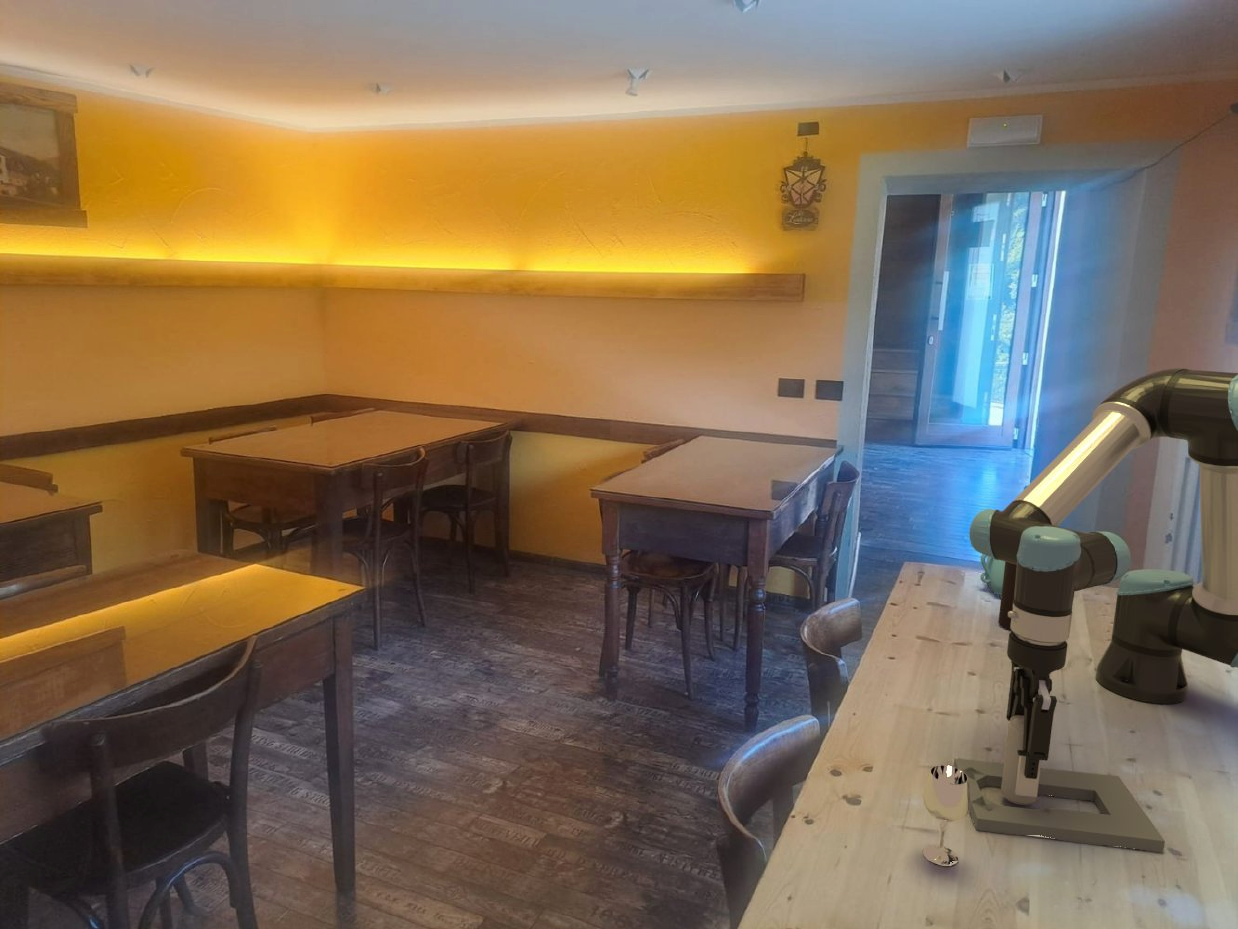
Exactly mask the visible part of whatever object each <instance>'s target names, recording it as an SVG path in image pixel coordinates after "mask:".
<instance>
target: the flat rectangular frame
mask: <svg viewBox="0 0 1238 929" xmlns="http://www.w3.org/2000/svg"><path fill="white" fill-rule="evenodd" d="M953 767H955V768H957V769H960V770H961V771H963V772H964V773H965V774H966V775H967V777H968V781H969V787H970V807H969V811H970V812H969V811H968V812H969V814H970V813H971V815H970V817H972V818H971V820H972V819H973V820H972V822H973V821H974V823H973V825H974V824H975V826H974V828H976V829H977V830H976V829H975V830H976V831H979V832H980V831H982V832H990V833H997V834H998V833H999V834H1004V835H1005V834H1007V835H1013V834H1015V836H1021V835H1040V836H1041V835H1042V836H1044V837H1045V836H1046V837H1049V838H1050V837H1051V838H1055V839H1060V840H1059V841H1062V840H1063V842H1073V843H1079V844H1086V845H1094V844H1095V845H1096V846H1102V845H1109V846H1108V847H1111V846H1119V847H1120V846H1121V847H1126V848H1125V849H1127V848H1135V849H1140V850H1139V851H1143V850H1146V851H1145V852H1151V851H1153V853H1159V852H1162V853H1161V854H1164V850H1165V842H1166V841H1165V839H1164V838H1163V836H1162V835H1161V833H1160V832H1159V831H1158V829H1157V828H1156V826H1155V825H1154V824H1153V822H1152V821H1151V819H1150V818H1149V816H1148V815H1147V814H1146V812H1145V811H1144V810H1143V808H1142V807H1141V806H1140V804H1139V802H1138V801H1137V800H1136V799H1135V797H1134V796H1133V794H1132V793H1131V792H1130V790H1129V789H1128V787H1127V785H1126V784H1125V783H1124V781H1123V780H1122V779H1121V778H1120V776H1119V775H1109V774H1099V773H1090V772H1084V771H1083V772H1082V771H1081V772H1080V771H1073V770H1064V769H1054V768H1053V769H1052V768H1047V767H1041V769H1040V777H1039V785H1038V793H1037V794H1038V795H1037V796H1043V795H1050V796H1049V797H1052V796H1057V797H1056V798H1061V797H1063V799H1071V800H1077V801H1078V800H1081V801H1087V800H1091V801H1090V802H1093V803H1094V802H1095V803H1094V804H1095V806H1096V807H1097V809H1098V808H1099V809H1098V811H1099V810H1100V811H1099V812H1100V813H1097V812H1096V813H1095V812H1088V811H1082V810H1081V811H1080V810H1071V809H1063V808H1054V807H1047V806H1046V807H1045V806H1042V807H1041V808H1039V809H1036V808H1035V809H1034V808H1033V809H1032V808H1025V807H1024V808H1023V807H1017V806H1008V805H1007V806H1006V805H1000V804H999V803H996V802H994V801H993V800H991V799H989V798H987V797H985V796H984V795H983V794H982V792H981V789H982V788H985V787H992V788H994V787H995V788H1001V785H1002V777H1003V768H1004V763H1000V762H999V763H997V762H992V761H990V762H989V761H982V760H981V761H980V760H973V759H972V760H971V759H964V758H963V759H962V758H956V757H955V758H954V759H953ZM1051 795H1052V796H1051ZM1064 797H1065V798H1064ZM1092 800H1093V801H1092ZM1101 813H1102V814H1101ZM1017 834H1018V835H1017ZM1119 847H1118V848H1119ZM1135 849H1134V850H1135ZM1154 851H1155V852H1154Z"/></svg>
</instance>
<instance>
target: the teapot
mask: <svg viewBox="0 0 1238 929" xmlns="http://www.w3.org/2000/svg"><path fill="white" fill-rule="evenodd" d="M981 554H982V553H981ZM986 558H987V559H986ZM980 563H981V566H982V568H983V569H984V572H982V573H981V574H980V576H979V577H980V580H981V582H982V583H985V584H986V585H987V586H988V587H989V589H990V590H991V591H992V592H993V593H994V594H995V595H999V596H1001V595H1002V586H1003V577H1004V568H1005V561H1002V560H996V559H994V558H992V557H989V556H987V555H984V554H982V555H980Z"/></svg>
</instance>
